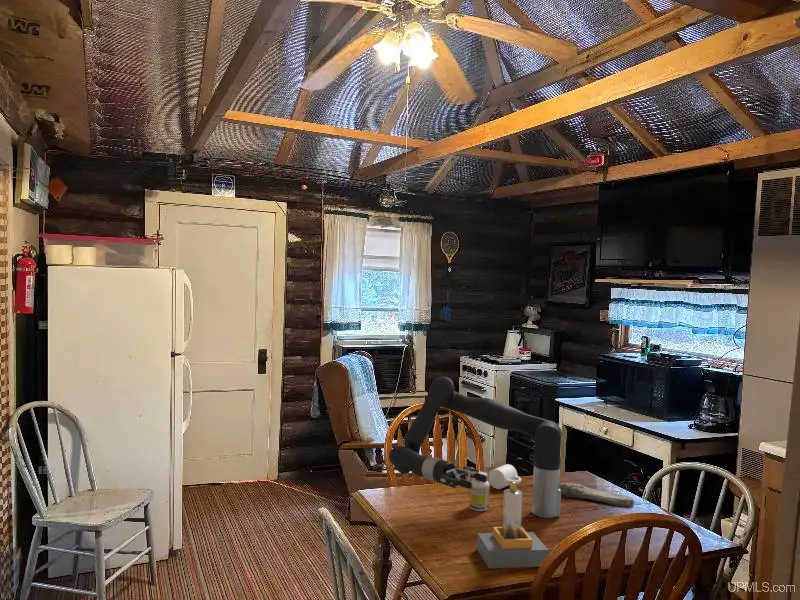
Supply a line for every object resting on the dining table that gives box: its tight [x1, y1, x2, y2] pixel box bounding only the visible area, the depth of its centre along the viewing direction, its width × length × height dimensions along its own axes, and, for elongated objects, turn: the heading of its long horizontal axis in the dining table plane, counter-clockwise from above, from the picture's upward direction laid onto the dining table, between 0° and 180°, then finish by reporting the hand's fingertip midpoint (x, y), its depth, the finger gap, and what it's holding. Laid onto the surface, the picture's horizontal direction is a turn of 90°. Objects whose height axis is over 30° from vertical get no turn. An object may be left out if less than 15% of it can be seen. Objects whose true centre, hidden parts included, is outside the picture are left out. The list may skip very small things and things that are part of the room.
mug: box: [487, 463, 522, 490], centre depth 234 cm, size 12×10×8 cm
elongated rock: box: [559, 481, 635, 507], centre depth 227 cm, size 35×5×10 cm
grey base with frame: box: [476, 525, 549, 569], centre depth 173 cm, size 18×14×8 cm
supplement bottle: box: [469, 471, 491, 512], centre depth 210 cm, size 7×7×13 cm
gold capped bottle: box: [502, 481, 523, 539], centre depth 172 cm, size 5×5×18 cm
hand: (478, 482), depth 183 cm, fingers open, 8 cm apart
